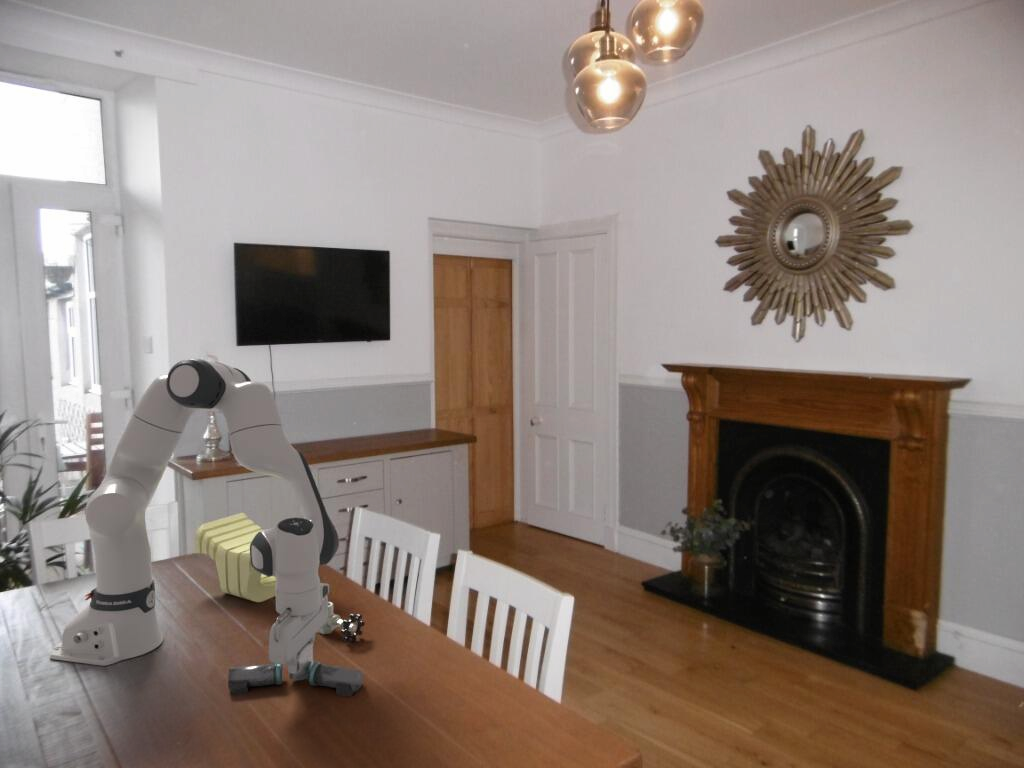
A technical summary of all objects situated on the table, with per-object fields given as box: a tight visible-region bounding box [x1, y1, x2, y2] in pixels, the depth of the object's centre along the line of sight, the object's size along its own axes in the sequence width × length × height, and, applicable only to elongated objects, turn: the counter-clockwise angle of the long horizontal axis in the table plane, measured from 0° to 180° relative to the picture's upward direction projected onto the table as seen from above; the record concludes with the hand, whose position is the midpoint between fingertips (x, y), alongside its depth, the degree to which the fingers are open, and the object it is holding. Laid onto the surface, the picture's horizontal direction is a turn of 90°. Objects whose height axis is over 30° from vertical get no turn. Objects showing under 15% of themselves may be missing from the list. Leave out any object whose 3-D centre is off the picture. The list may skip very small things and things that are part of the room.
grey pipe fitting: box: [227, 663, 284, 696], centre depth 146 cm, size 10×5×4 cm, turn 103°
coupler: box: [287, 641, 314, 681], centre depth 148 cm, size 5×5×6 cm
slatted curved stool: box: [194, 511, 276, 603], centre depth 195 cm, size 30×16×18 cm, turn 60°
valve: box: [317, 601, 366, 643], centre depth 169 cm, size 7×7×12 cm
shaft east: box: [307, 661, 364, 698], centre depth 146 cm, size 10×5×4 cm, turn 73°
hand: (300, 664), depth 148 cm, fingers closed on coupler, 5 cm apart
